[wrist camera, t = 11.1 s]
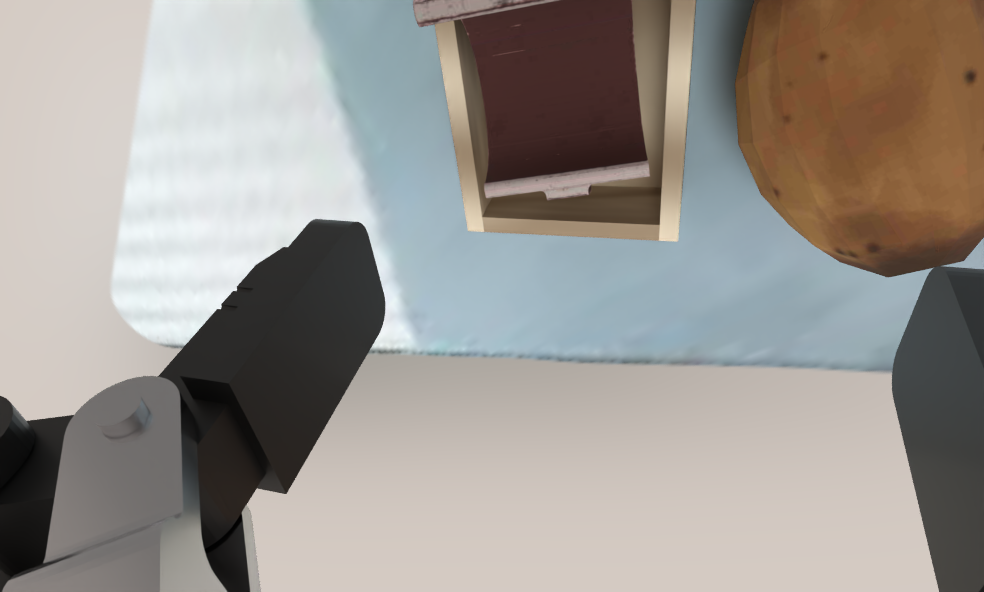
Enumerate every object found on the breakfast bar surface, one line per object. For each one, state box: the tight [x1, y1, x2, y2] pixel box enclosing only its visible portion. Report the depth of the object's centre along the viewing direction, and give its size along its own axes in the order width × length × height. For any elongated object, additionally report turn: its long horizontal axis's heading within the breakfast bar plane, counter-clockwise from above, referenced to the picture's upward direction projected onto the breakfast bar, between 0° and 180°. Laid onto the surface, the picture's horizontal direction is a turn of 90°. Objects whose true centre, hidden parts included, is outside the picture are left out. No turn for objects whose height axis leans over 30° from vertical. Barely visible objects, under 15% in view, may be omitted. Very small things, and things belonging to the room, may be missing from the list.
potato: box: [735, 0, 984, 277], centre depth 23 cm, size 8×14×8 cm
